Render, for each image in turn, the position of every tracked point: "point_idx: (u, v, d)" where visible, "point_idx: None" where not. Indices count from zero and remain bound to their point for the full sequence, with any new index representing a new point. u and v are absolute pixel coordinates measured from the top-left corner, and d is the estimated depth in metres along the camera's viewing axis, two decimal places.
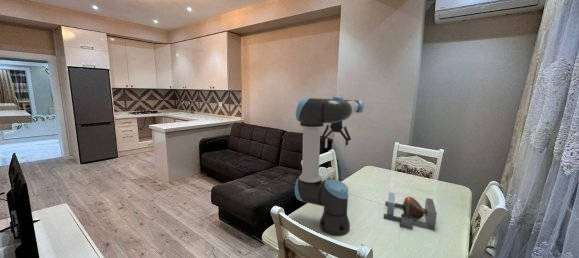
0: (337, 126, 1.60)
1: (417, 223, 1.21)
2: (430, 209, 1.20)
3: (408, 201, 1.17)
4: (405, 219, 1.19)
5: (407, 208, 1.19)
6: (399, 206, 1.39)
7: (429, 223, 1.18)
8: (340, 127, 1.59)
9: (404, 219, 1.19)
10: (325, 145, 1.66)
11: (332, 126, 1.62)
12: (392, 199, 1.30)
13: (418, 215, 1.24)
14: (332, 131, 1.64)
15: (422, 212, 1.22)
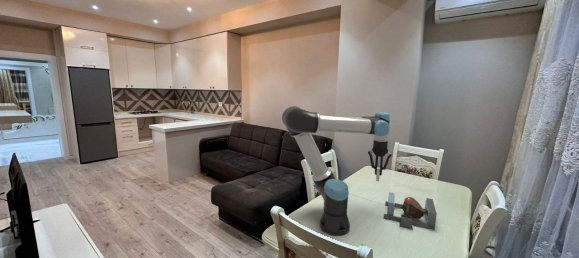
0: (381, 149, 1.30)
1: (417, 223, 1.21)
2: (430, 209, 1.20)
3: (408, 201, 1.17)
4: (405, 219, 1.19)
5: (407, 208, 1.19)
6: (399, 206, 1.39)
7: (429, 223, 1.18)
8: (385, 151, 1.29)
9: (404, 219, 1.19)
10: (376, 177, 1.33)
11: (375, 149, 1.31)
12: (392, 199, 1.30)
13: (418, 215, 1.24)
14: None
15: (422, 212, 1.22)
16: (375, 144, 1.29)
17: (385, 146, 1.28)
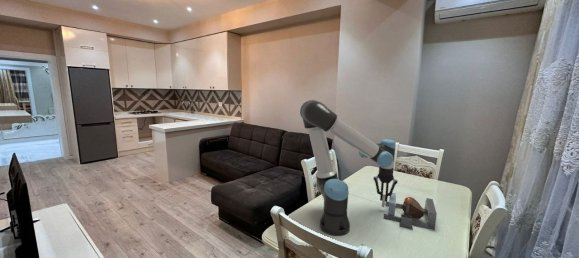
0: (387, 176, 1.31)
1: (417, 223, 1.21)
2: (430, 209, 1.20)
3: (408, 201, 1.17)
4: (405, 219, 1.19)
5: (407, 208, 1.19)
6: (399, 206, 1.39)
7: (429, 223, 1.18)
8: (391, 178, 1.30)
9: (404, 219, 1.19)
10: (382, 203, 1.34)
11: (380, 176, 1.32)
12: (393, 199, 1.30)
13: (418, 215, 1.24)
14: None
15: (422, 212, 1.22)
16: (381, 171, 1.30)
17: (391, 173, 1.28)
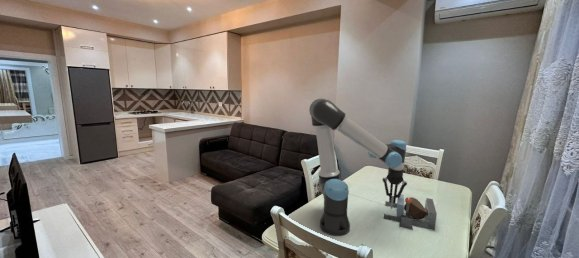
0: (396, 178, 1.29)
1: (417, 223, 1.21)
2: (430, 209, 1.20)
3: (408, 201, 1.17)
4: (405, 219, 1.19)
5: (407, 208, 1.19)
6: None
7: (429, 223, 1.18)
8: (400, 179, 1.28)
9: (404, 219, 1.19)
10: (391, 205, 1.32)
11: (389, 177, 1.30)
12: (402, 201, 1.28)
13: (421, 215, 1.23)
14: None
15: (424, 212, 1.22)
16: (390, 172, 1.28)
17: (401, 175, 1.26)
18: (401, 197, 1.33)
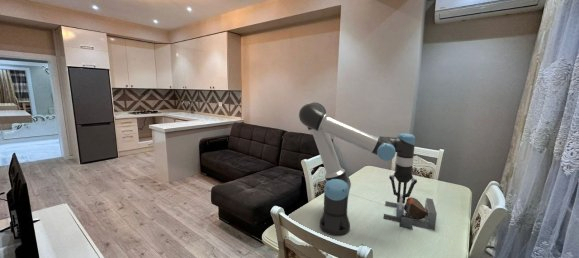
0: (405, 175, 1.16)
1: (417, 223, 1.21)
2: (430, 209, 1.20)
3: (410, 201, 1.17)
4: (405, 219, 1.19)
5: (408, 208, 1.19)
6: None
7: (429, 223, 1.18)
8: (410, 177, 1.16)
9: (404, 219, 1.19)
10: (399, 206, 1.20)
11: (397, 174, 1.18)
12: None
13: (420, 215, 1.23)
14: None
15: (424, 212, 1.22)
16: (398, 169, 1.16)
17: (410, 172, 1.14)
18: None
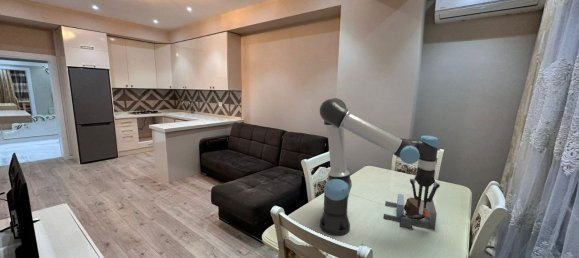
0: (427, 179, 1.12)
1: (417, 223, 1.21)
2: (430, 209, 1.20)
3: (427, 215, 1.14)
4: (405, 219, 1.19)
5: (418, 216, 1.17)
6: None
7: (429, 223, 1.18)
8: (432, 181, 1.12)
9: (404, 219, 1.19)
10: (420, 210, 1.16)
11: (419, 178, 1.14)
12: (402, 201, 1.28)
13: None
14: None
15: None
16: (420, 173, 1.12)
17: (432, 176, 1.10)
18: (401, 197, 1.33)
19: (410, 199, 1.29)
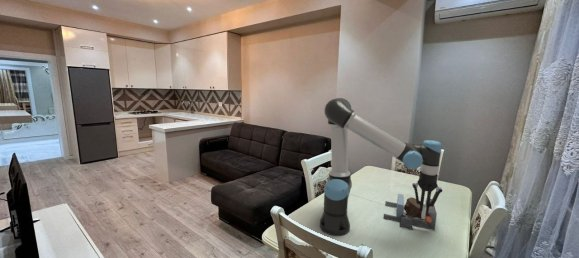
0: (430, 183, 1.12)
1: (417, 223, 1.21)
2: (430, 209, 1.20)
3: (429, 221, 1.15)
4: (405, 219, 1.19)
5: (419, 219, 1.17)
6: None
7: (429, 223, 1.18)
8: (434, 185, 1.12)
9: (404, 219, 1.19)
10: (422, 215, 1.16)
11: (421, 183, 1.14)
12: (402, 201, 1.28)
13: (420, 215, 1.23)
14: None
15: None
16: (423, 177, 1.12)
17: (435, 180, 1.10)
18: (401, 197, 1.33)
19: (410, 199, 1.29)
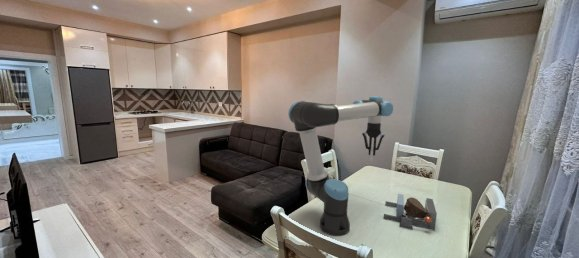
0: (375, 131, 1.39)
1: (417, 223, 1.21)
2: (430, 209, 1.20)
3: (429, 221, 1.15)
4: (405, 219, 1.19)
5: (419, 219, 1.17)
6: None
7: (429, 223, 1.18)
8: (378, 132, 1.39)
9: (404, 219, 1.19)
10: (370, 157, 1.43)
11: (368, 131, 1.41)
12: (402, 201, 1.28)
13: (420, 215, 1.23)
14: (372, 137, 1.43)
15: (424, 213, 1.22)
16: (369, 126, 1.39)
17: (378, 127, 1.37)
18: (401, 197, 1.33)
19: (410, 199, 1.29)
